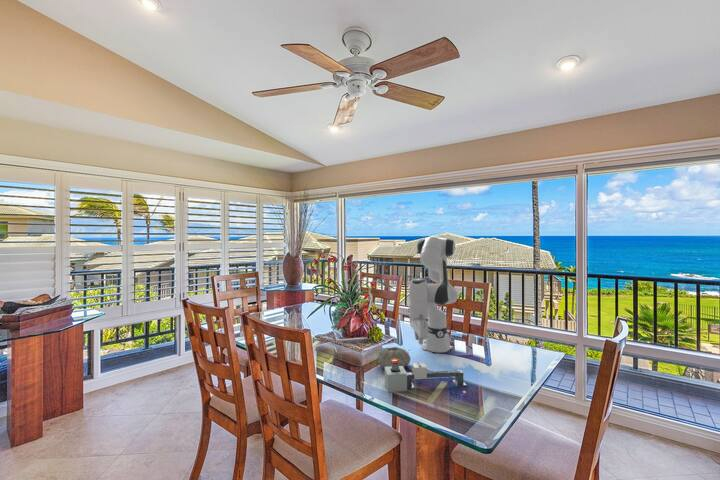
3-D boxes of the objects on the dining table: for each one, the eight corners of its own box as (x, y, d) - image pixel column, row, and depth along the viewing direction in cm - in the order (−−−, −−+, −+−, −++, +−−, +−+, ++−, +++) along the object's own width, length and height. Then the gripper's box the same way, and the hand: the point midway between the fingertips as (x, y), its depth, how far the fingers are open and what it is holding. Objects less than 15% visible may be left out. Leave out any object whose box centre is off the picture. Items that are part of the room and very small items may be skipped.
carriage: (411, 374, 157) (411, 362, 156) (424, 374, 157) (424, 361, 157) (414, 379, 152) (414, 366, 151) (427, 378, 152) (426, 365, 152)
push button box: (384, 383, 158) (384, 366, 157) (402, 382, 158) (402, 365, 158) (387, 392, 149) (387, 374, 148) (407, 391, 149) (406, 373, 149)
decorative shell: (382, 358, 188) (382, 341, 188) (413, 362, 182) (413, 344, 182) (373, 371, 171) (373, 352, 171) (406, 375, 165) (406, 356, 165)
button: (390, 372, 155) (390, 358, 155) (398, 372, 156) (398, 358, 155) (391, 376, 151) (391, 362, 151) (400, 376, 151) (400, 361, 151)
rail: (401, 383, 157) (401, 371, 157) (461, 380, 159) (461, 368, 159) (404, 389, 151) (404, 376, 151) (466, 386, 153) (466, 373, 153)
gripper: (431, 318, 144) (432, 349, 144) (419, 307, 164) (419, 334, 164) (417, 318, 143) (418, 349, 143) (407, 308, 163) (407, 335, 164)
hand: (418, 341), depth 154 cm, fingers open, 5 cm apart
